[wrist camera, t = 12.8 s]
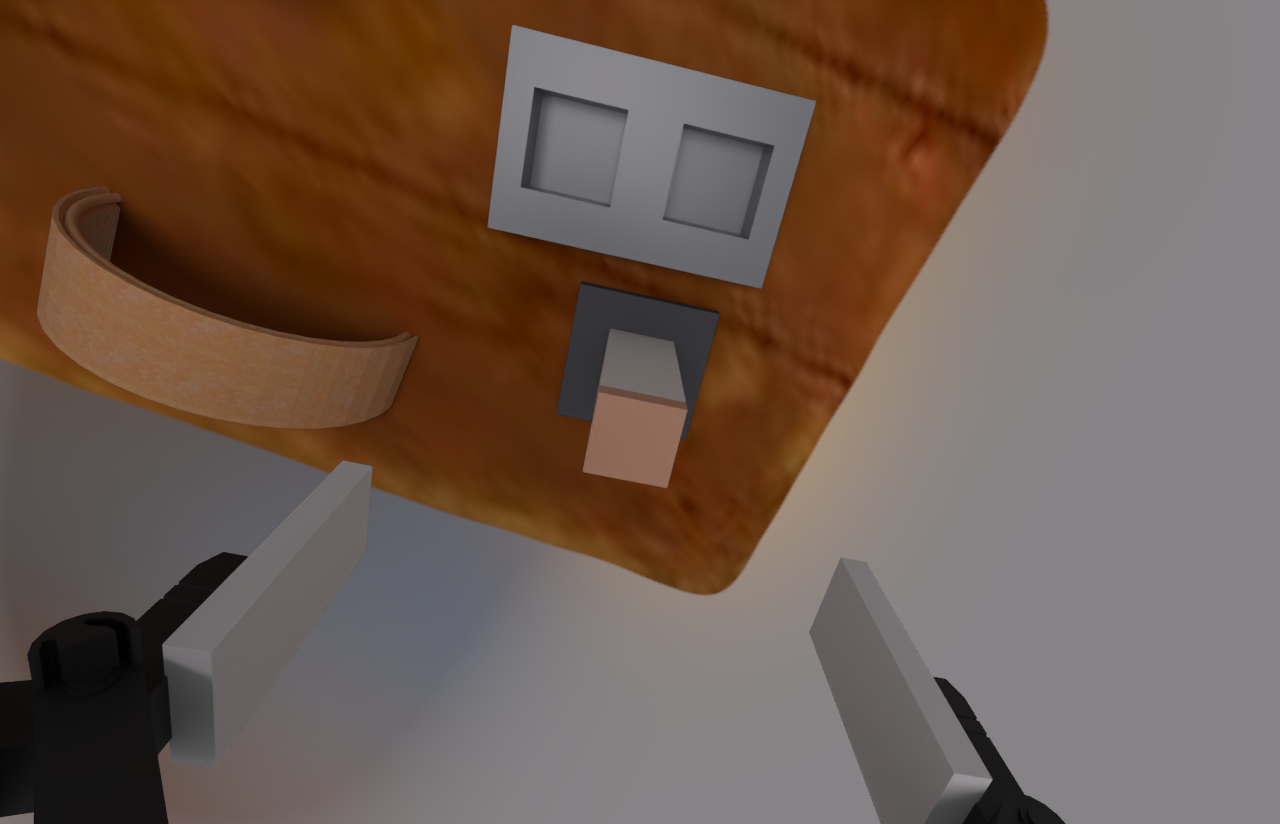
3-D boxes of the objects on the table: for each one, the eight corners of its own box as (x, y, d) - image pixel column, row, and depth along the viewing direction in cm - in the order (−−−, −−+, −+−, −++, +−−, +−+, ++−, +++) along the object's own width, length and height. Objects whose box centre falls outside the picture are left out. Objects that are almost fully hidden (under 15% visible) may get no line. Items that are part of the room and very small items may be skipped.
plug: (597, 388, 41) (582, 471, 30) (610, 328, 39) (598, 392, 28) (659, 400, 41) (667, 487, 30) (673, 341, 40) (687, 410, 28)
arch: (107, 183, 37) (-72, 188, 28) (420, 336, 40) (355, 387, 31) (90, 269, 39) (-83, 301, 29) (390, 408, 42) (320, 476, 33)
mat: (557, 409, 42) (556, 414, 41) (581, 281, 39) (580, 283, 38) (684, 435, 43) (685, 440, 42) (718, 311, 40) (719, 314, 39)
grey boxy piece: (500, 222, 37) (487, 227, 34) (524, 38, 34) (512, 24, 31) (751, 278, 39) (761, 288, 36) (799, 107, 35) (816, 101, 32)
